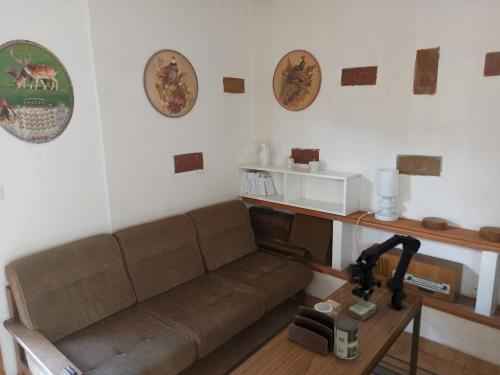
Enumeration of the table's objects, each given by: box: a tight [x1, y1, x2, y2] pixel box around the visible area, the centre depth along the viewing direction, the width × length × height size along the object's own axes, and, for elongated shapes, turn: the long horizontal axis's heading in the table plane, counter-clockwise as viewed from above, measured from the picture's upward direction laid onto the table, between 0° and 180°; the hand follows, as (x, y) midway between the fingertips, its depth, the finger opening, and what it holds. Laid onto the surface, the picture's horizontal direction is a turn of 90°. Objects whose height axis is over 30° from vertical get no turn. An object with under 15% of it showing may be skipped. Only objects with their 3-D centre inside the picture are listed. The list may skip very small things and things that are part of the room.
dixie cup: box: [314, 302, 332, 317], centre depth 175 cm, size 8×8×10 cm
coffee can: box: [333, 316, 360, 360], centre depth 155 cm, size 10×10×14 cm
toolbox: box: [347, 301, 378, 323], centre depth 184 cm, size 12×9×4 cm
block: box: [324, 298, 341, 316], centre depth 188 cm, size 4×7×5 cm, turn 41°
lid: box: [348, 297, 376, 316], centre depth 183 cm, size 12×8×4 cm, turn 129°
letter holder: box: [288, 305, 336, 357], centre depth 162 cm, size 10×20×14 cm, turn 50°
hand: (366, 302), depth 185 cm, fingers closed
